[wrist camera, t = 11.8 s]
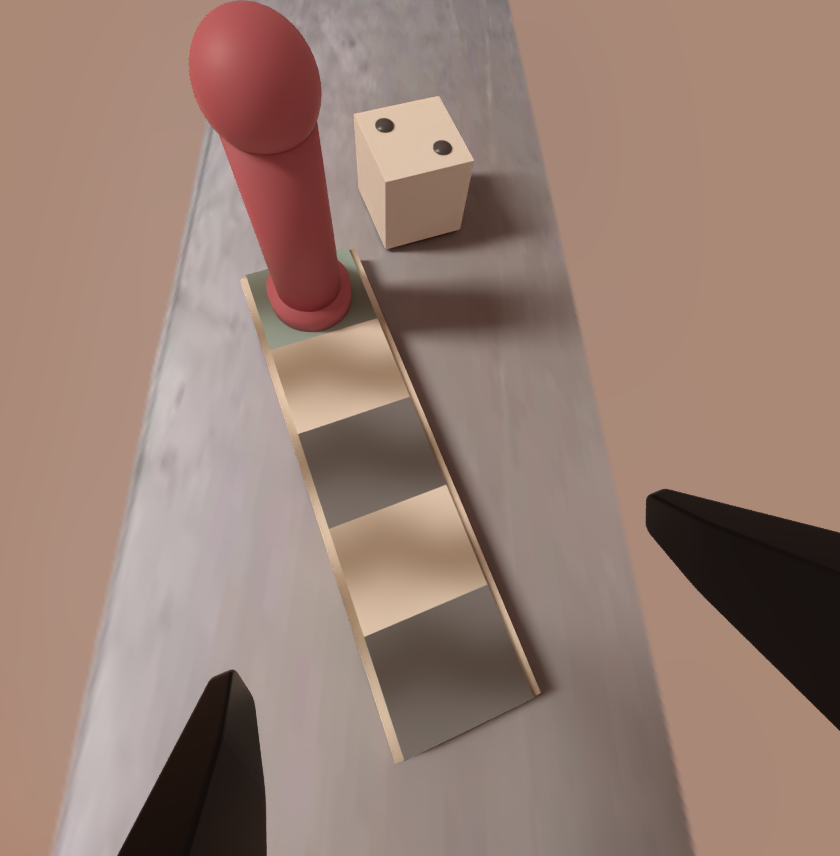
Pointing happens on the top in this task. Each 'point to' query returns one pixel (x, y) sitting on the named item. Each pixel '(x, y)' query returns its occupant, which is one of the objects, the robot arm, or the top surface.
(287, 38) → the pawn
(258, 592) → the top surface
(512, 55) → the top surface
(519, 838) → the top surface
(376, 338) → the board
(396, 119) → the die
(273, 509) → the top surface
